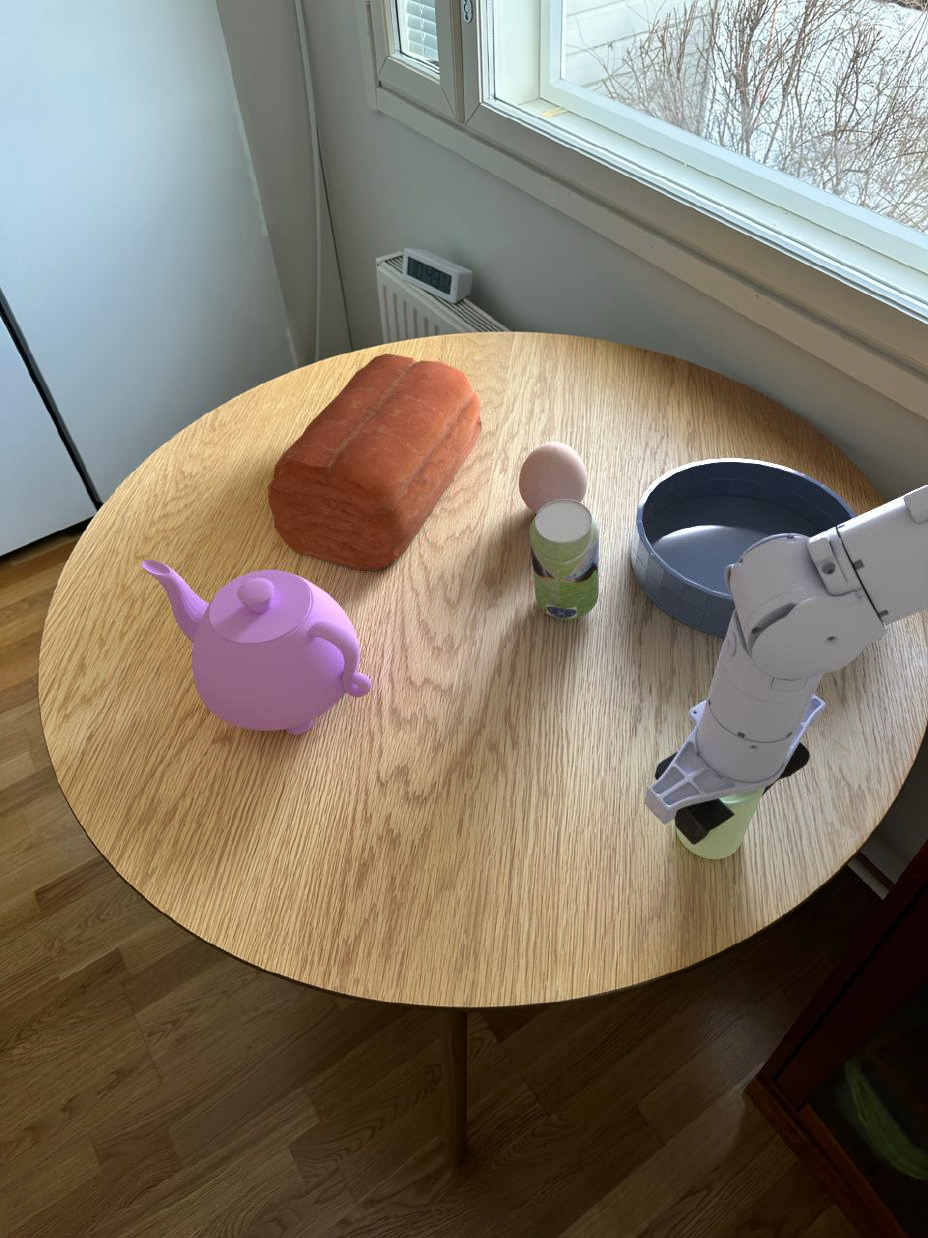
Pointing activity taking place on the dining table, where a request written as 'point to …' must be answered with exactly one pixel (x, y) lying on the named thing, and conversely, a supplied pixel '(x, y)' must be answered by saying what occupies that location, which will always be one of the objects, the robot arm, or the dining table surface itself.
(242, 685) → the teapot
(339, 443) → the bread
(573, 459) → the egg
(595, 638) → the dining table surface
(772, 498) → the bowl
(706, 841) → the candle
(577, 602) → the beverage can
